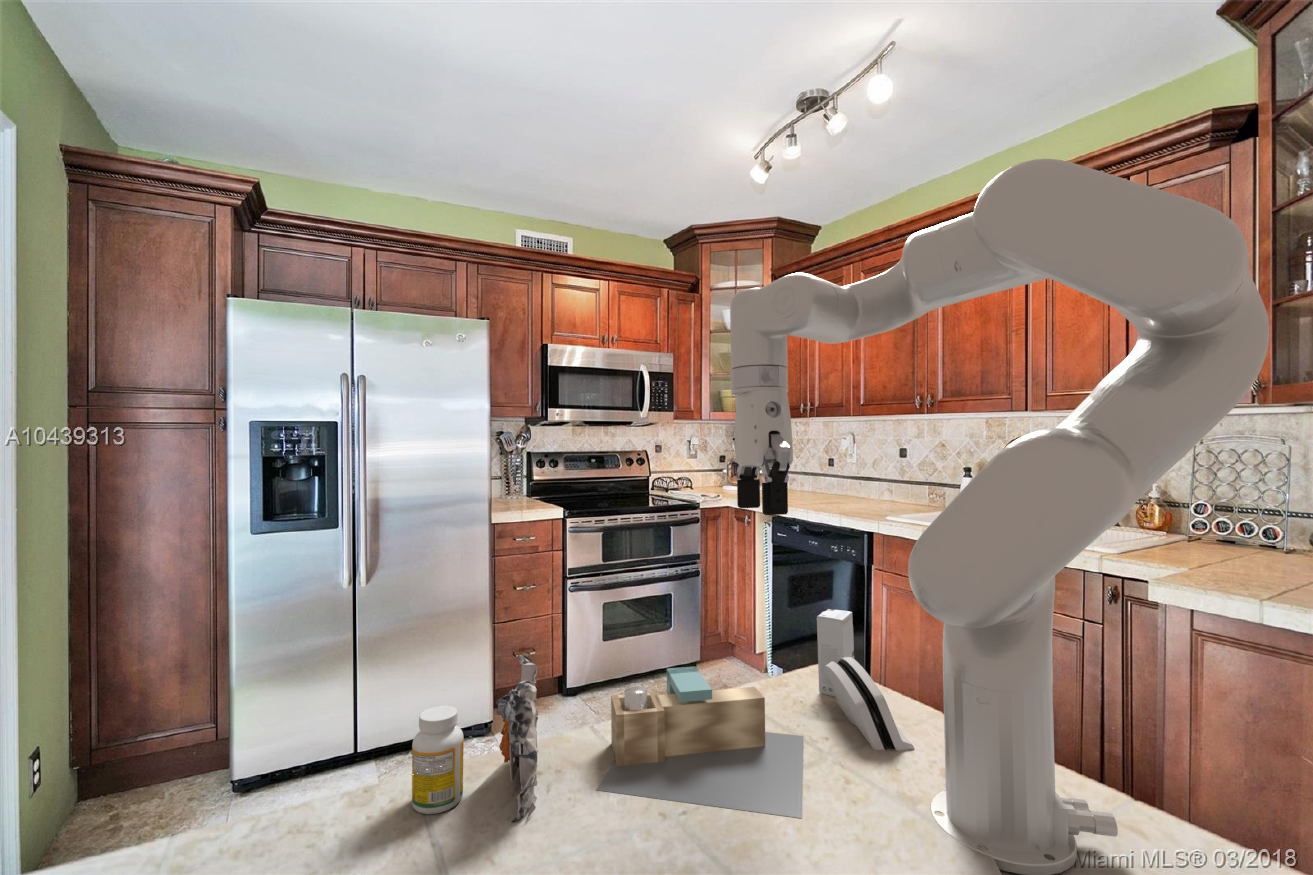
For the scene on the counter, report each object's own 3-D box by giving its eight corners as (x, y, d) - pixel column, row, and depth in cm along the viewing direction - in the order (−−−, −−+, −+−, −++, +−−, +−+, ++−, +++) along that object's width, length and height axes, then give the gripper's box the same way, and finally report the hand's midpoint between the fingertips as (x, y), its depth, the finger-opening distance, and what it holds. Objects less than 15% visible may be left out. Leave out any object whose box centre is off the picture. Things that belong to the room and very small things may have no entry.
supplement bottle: (440, 820, 62) (440, 727, 62) (400, 809, 64) (400, 719, 64) (473, 793, 67) (473, 707, 67) (436, 783, 69) (436, 700, 69)
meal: (503, 762, 74) (502, 655, 74) (538, 758, 75) (537, 653, 75) (494, 838, 59) (494, 705, 60) (538, 832, 60) (538, 701, 61)
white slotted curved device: (919, 760, 73) (890, 683, 74) (883, 774, 73) (854, 697, 74) (871, 703, 90) (847, 641, 90) (841, 714, 90) (818, 652, 90)
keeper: (680, 759, 72) (680, 692, 72) (667, 729, 80) (666, 668, 80) (712, 755, 73) (712, 689, 73) (696, 726, 81) (695, 666, 81)
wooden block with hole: (616, 766, 70) (616, 715, 70) (611, 743, 76) (611, 695, 76) (768, 750, 74) (767, 701, 74) (752, 729, 79) (751, 683, 80)
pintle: (650, 748, 75) (649, 687, 75) (644, 759, 72) (643, 696, 72) (628, 745, 75) (628, 685, 76) (622, 756, 73) (621, 694, 73)
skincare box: (845, 699, 92) (844, 620, 92) (817, 693, 94) (815, 616, 94) (856, 686, 97) (855, 611, 97) (829, 680, 99) (827, 607, 100)
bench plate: (803, 745, 77) (803, 736, 77) (802, 830, 60) (802, 818, 60) (640, 727, 83) (640, 719, 83) (596, 801, 65) (595, 790, 65)
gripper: (814, 375, 72) (816, 516, 72) (762, 390, 89) (764, 505, 89) (755, 374, 71) (757, 518, 70) (714, 389, 88) (715, 506, 87)
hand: (761, 510), depth 79 cm, fingers open, 9 cm apart
